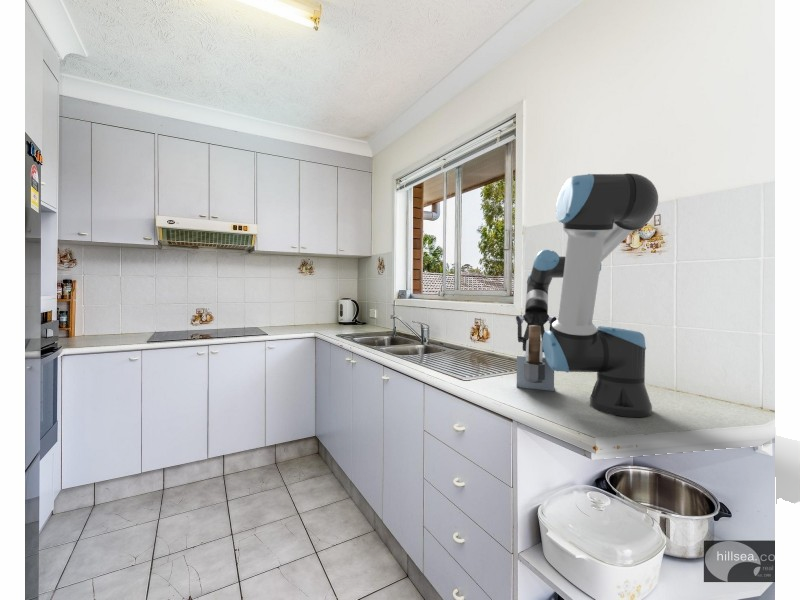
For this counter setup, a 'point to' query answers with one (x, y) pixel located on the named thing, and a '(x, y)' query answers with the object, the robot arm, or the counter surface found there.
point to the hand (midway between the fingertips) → (533, 358)
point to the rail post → (534, 344)
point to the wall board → (525, 384)
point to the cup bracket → (534, 372)
